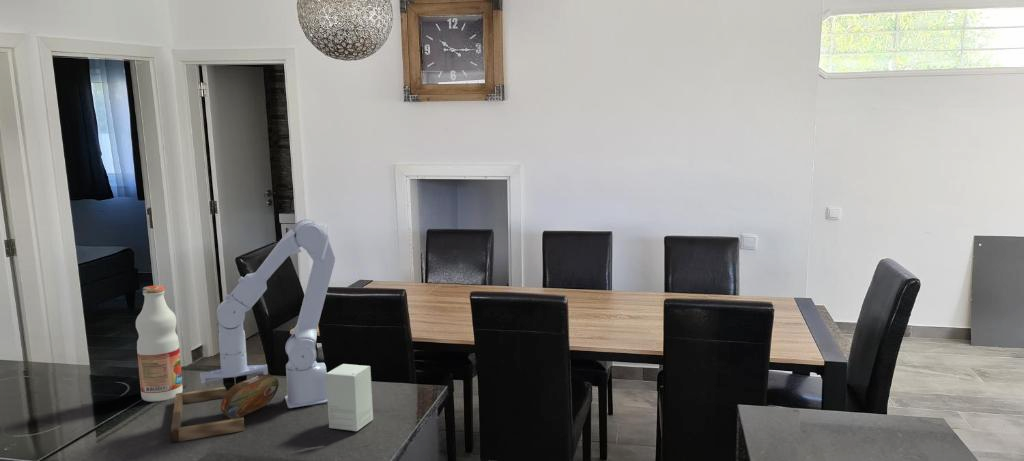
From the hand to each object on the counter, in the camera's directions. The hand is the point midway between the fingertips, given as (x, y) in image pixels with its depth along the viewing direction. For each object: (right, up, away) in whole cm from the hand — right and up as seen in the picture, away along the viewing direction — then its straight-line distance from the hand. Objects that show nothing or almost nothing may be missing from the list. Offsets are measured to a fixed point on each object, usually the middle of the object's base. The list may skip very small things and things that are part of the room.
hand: (236, 407), depth 164 cm
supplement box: (+29, -2, -8) cm, 30 cm away
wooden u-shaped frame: (-5, -1, -2) cm, 6 cm away
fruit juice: (-23, 0, +12) cm, 26 cm away
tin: (+2, -1, 0) cm, 2 cm away
